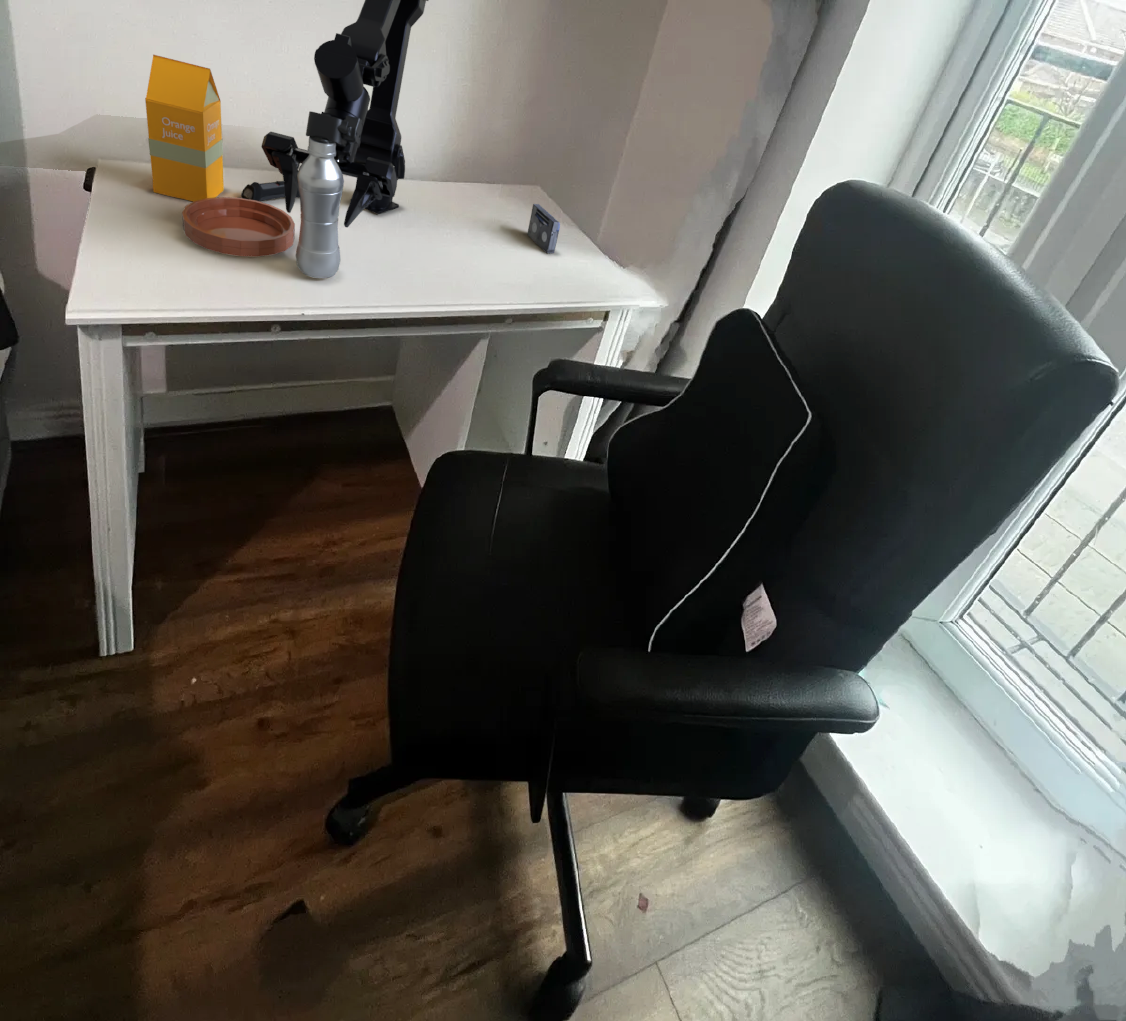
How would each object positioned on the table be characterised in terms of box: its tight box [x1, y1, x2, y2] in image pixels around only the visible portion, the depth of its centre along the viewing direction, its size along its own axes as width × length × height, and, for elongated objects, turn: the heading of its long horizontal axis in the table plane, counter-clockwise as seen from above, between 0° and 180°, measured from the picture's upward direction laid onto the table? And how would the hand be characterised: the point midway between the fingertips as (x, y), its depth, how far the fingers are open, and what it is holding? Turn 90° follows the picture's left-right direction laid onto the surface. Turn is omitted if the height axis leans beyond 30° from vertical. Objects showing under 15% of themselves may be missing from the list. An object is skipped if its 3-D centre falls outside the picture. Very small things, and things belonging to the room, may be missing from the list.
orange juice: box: [144, 54, 225, 202], centre depth 132 cm, size 8×9×20 cm
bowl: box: [181, 196, 296, 258], centre depth 128 cm, size 16×16×3 cm
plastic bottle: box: [295, 136, 345, 279], centre depth 120 cm, size 6×7×20 cm
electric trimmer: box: [240, 180, 300, 202], centre depth 144 cm, size 4×16×3 cm, turn 141°
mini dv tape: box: [526, 203, 561, 254], centre depth 153 cm, size 8×2×6 cm, turn 31°
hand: (316, 218), depth 119 cm, fingers open, 8 cm apart
